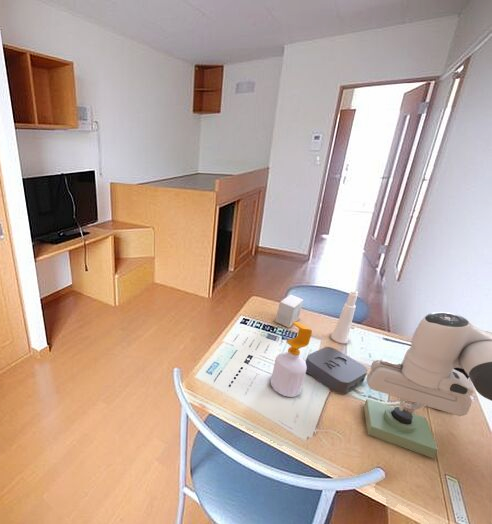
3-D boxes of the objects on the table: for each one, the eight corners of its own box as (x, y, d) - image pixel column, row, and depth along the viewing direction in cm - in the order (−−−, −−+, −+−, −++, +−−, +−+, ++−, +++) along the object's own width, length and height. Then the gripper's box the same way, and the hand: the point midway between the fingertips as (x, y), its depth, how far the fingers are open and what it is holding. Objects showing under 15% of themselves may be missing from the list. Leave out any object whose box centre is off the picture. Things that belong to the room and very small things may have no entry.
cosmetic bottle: (348, 345, 120) (364, 296, 112) (330, 340, 123) (345, 292, 115) (347, 337, 125) (363, 290, 117) (331, 333, 128) (345, 286, 120)
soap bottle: (264, 380, 102) (277, 319, 93) (285, 374, 105) (300, 313, 96) (284, 400, 95) (301, 335, 85) (306, 393, 98) (325, 329, 88)
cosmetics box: (289, 328, 131) (294, 307, 127) (274, 322, 135) (279, 301, 131) (299, 319, 137) (304, 299, 133) (285, 313, 142) (289, 293, 138)
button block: (422, 425, 87) (428, 413, 85) (433, 458, 78) (440, 445, 76) (363, 406, 93) (368, 393, 91) (367, 434, 84) (373, 421, 82)
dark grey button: (408, 415, 85) (411, 410, 84) (411, 426, 81) (414, 421, 81) (390, 410, 86) (393, 404, 86) (393, 420, 83) (395, 415, 82)
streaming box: (325, 356, 114) (329, 345, 112) (366, 381, 103) (371, 369, 101) (300, 368, 108) (303, 357, 106) (340, 397, 96) (345, 385, 94)
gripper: (375, 364, 79) (361, 404, 85) (483, 394, 70) (459, 436, 76) (372, 351, 85) (359, 389, 90) (472, 376, 75) (450, 417, 81)
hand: (405, 410), depth 83 cm, fingers closed
